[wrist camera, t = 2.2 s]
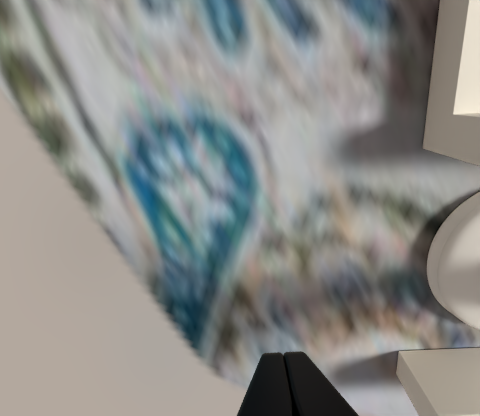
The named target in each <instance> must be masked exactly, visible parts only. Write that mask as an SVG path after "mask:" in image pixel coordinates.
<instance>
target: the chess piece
mask: <svg viewBox="0 0 480 416" xmlns="http://www.w3.org/2000/svg"><path fill="white" fill-rule="evenodd" d="M427 278H428V282H429V286H430V289H431V291H432V293H433V295H434V296H435V298H436V299H437V301H438V302H439V303H440V304H441V305H442V306H443V307H444V308H445V309H446V310H447V311H449V312H450V313H452V314H453V315H455V316H456V317H457V318H458V319H460V320H461V321H462V322H464V323H466V324H467V325H469V326H472V327H474V328H477V329H480V192H478V193H477V194H475V195H473V196H472V197H470V198H469V199H467V200H466V201H464V202H463V203H462V204H461V205H459V206H458V207H457V208H456V209H455V210H454V211H453V212H452V213H451V214H450V215H449V216H448V217H447V219H446V220H445V221H444V222H443V224H442V225H441V227H440V228H439V230H438V231H437V233H436V235H435V237H434V239H433V241H432V244H431V246H430V250H429V253H428V259H427Z"/></svg>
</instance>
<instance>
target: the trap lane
mask: <svg viewBox="0 0 480 416" xmlns="http://www.w3.org/2000/svg"><path fill="white" fill-rule="evenodd" d="M423 149H426V150H429V151H432V152H436V153H439V154H442V155H445V156H448V157H452V158H455V159H458V160H461V161H465V162H468V163H471V164H474V165H477V166H480V0H440V5H439V14H438V22H437V31H436V39H435V48H434V56H433V65H432V73H431V82H430V90H429V98H428V107H427V115H426V124H425V132H424V141H423ZM396 375H397V377H398V378H399V380H400V382H401V384H402V386H403V387H404V389H405V391H406V393H407V395H408V397H409V398H410V400H411V402H412V404H413V406H414V407H415V409H416V411H417V413H418V415H419V416H480V348H460V349H437V350H414V351H399V353H398V362H397V370H396Z"/></svg>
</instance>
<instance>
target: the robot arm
mask: <svg viewBox="0 0 480 416" xmlns="http://www.w3.org/2000/svg"><path fill="white" fill-rule="evenodd" d="M237 416H359V415H358V414H357V413H356V412H355V411H354V410H353V408H352V407H351V406H350V405H349V404H348V403H347V401H346V400H345V399H344V398H343V397H342V396H341V394H340V393H339V392H338V391H337V390H336V389H335V387H334V386H333V385H332V384H331V383H330V382H329V380H328V379H327V378H326V377H325V376H324V375H323V373H322V372H321V371H320V370H319V369H318V368H317V366H316V365H315V364H314V363H313V362H312V361H311V359H310V358H309V357H308V356H307V355H306V354H305V353H304V352H286V353H284V355H283V354H282V353H279V352H278V353H264V354H263V355H262V356H261V358H260V361H259V363H258V365H257V368H256V370H255V373H254V375H253V378H252V380H251V382H250V385H249V387H248V390H247V392H246V395H245V397H244V400H243V402H242V405H241V407H240V410H239V412H238V414H237Z"/></svg>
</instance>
